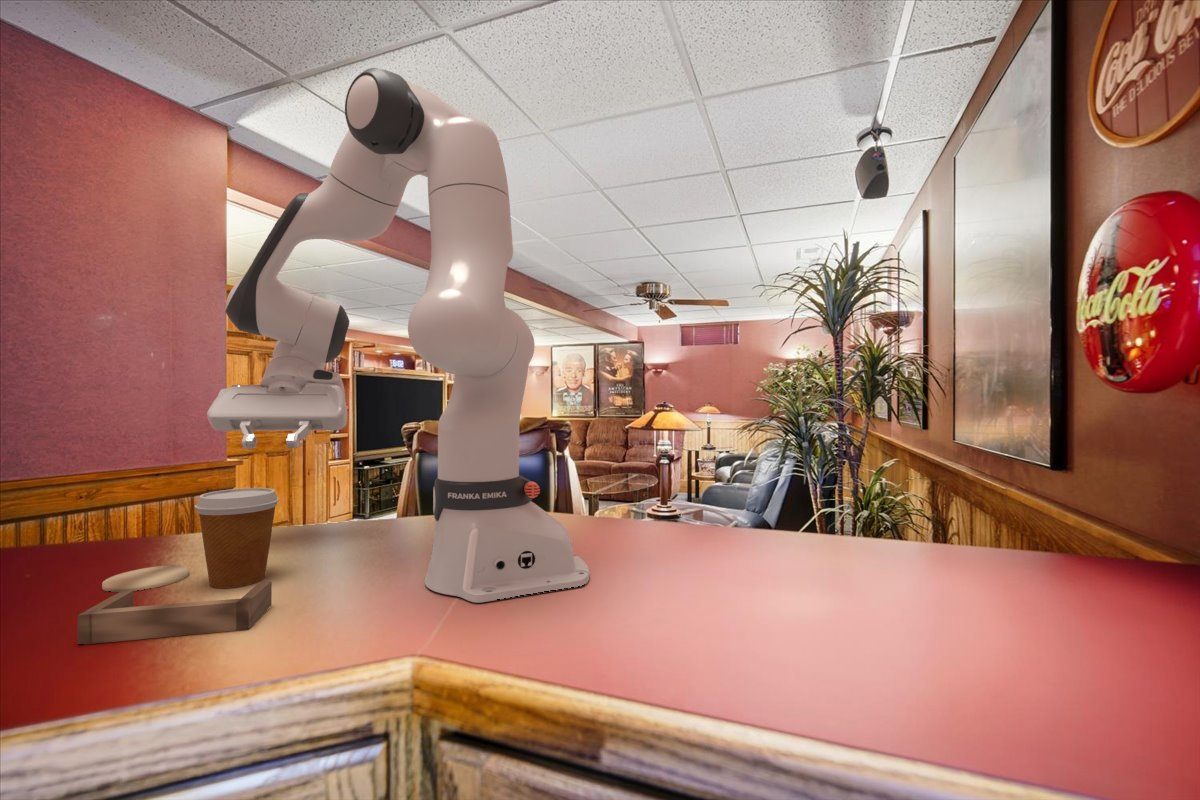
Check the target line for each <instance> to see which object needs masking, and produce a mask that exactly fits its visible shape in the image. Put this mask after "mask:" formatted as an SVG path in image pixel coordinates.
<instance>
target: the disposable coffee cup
mask: <svg viewBox="0 0 1200 800" xmlns="http://www.w3.org/2000/svg"><path fill="white" fill-rule="evenodd" d="M279 501H280V498H279V497H278V496H277V492H276V489H273V488H269V487H268V488H267V487H245V488H229V489H225V490H224V489H223V490H216V491H210V492H207V493H206V492H205V493H203V494H200V495H199V497H198V500H197V503H196V504H195V505H194V509H195V510H196V512H197V513H196V514H198V516H199V522H200V528H201V535H202V542H203V548H204V556H205V561H206V562H205V564H206V568H207V575H208V583H209V586H210V587H211V588H215V589H231V588H238V587H244V585H245V586H248V584H249V585H252V584H255V582H256V583H259V582H260V581H263V579H264V578H265V577H266V573H267V572H266V571H267V565H268V558H269V552H270V545H271V537H272V531H273V524H274V519H275V518H274V517H275V513H276V511H275V510H276V507H277V506H278V502H279Z"/></svg>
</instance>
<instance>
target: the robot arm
mask: <svg viewBox="0 0 1200 800" xmlns="http://www.w3.org/2000/svg"><path fill="white" fill-rule="evenodd" d="M344 116H345V120H346V124H347V127H348V131H347V133H346V134H345V136H344V138H343V139H342V141H341V143H340V145H339V147H338V148H337V151H336V153H335V155H334V158H333V159H332V162H331V165H330V167H329V171H328V173H327V175H326V178H324V179H325V180H323V182H322V184H321V185H319V186H318V187H317V188H316V189H315V190H313V191H311V192H310V193H309V192H307V193H306V192H299V193H298V194H297V195H296V196H294V197H293V198H292V199H291V201H289V203H288V205H286V207H285V209H284V210H283V211H282V214H281V215H280V217H279V218H278V219H277V220H276V223H274V225H273V227H272V229H271V231H270V232H269V234H268V235H267V238H266V239H265V241H264V242H263V244H262V245H261V247H260V248H259V251H258V252H257V254H256V255H255V257H254V258H253V261H252V263H251V264H250V266H249V268H248V269H247V271H246V272H245V273H244V274H243V275H242V276H241V277H240V279H238V281H237V282H236V283H235V284H234V285H233V287H232V288H231V289H230V292H229V293H228V295H227V298H226V302H225V314H226V316H227V317H228V319H229V320H230V321H231V323H232V324H233V325H234V327H235V328H236V329H238V331H239V332H244V333H248V334H253V335H256V336H260V337H262V336H263V337H267V338H270V339H272V340H275V341H276V344H275V346H274V347H273V350H272V359H271V360H270V361H269V362H268V364H267V366H266V368H265V371H264V373H263V375H262V378H261V381H260V383H259V384H247V385H246V384H245V385H243V384H232V385H231V386H228V387H226V388H222V389H220V391H219V393H218V395H217V396H216V398H215V399H214V400H213V402H212V403H211V405H210V406H209V408H208V410H207V412H206V418H207V421H208V422H209V424H210V426H211V427H212V428H213V429H214V430H215V431H217V432H241V433H242V435H243V437H242V440H241V445H242V448H243V450H249V449H251V450H252V449H256V445H257V444H258V439H257V437H256V435H255V434H254V431H255V432H257V431H258V432H260V431H261V432H262V431H264V432H265V431H269V432H270V431H275V432H276V431H279V432H281V431H295V432H294V433H288V435H287V438H286V440H285V441H286V446H287V448H288V449H298V448H299V447H300V444H301V442H302V441H303V440H304V439H306V438H307V437H308V436H309V435H310V434H311V432H312V431H341V430H342V429H344V428H345V427H346V426H347V422H348V407H347V406H348V405H347V401H346V391H345V386H344V382H343V379H342V377H341V375H340V374H339V373H337V372H334V371H329V370H325V367H326V364H327V363H331V362H332V361H333V360H335V359H336V358H339V355H341V352H342V350H343V348H344V345H345V342H346V336H347V332H348V330H349V326H350V318H349V316H348V314H347V311H346V310H345V308H344V307H343V306H342V305H341V304H339V303H337V302H334V301H332V300H329V299H326V298H324V297H322V296H320V295H316V294H314V295H313V294H312V293H309V292H306V291H303V290H301V289H299V288H295V287H293V286H290V285H287V284H286V283H283V282H281V281H280V280H279V279H278V275H279V273H280V272H281V270H282V269H283V267H284V266H285V263H286V262H287V260H288V259H289V257H290V256H291V254H292V252H293V251H294V249H295V247H296V246H298V245H299V244H301V243H302V242H304V241H305V242H306V241H309V240H310V241H311V240H332V241H333V240H334V241H342V242H362V241H363V242H364V241H369V240H373V239H375V238H377V237H379V236H381V235H383V233H386V232H387V230H388V228H389V227H390V225H391V224H392V221H393V219H394V218H395V216H396V213H397V211H398V209H399V207H400V204H401V202H402V199H403V196H404V193H405V190H406V188H407V185H408V184H409V181H411V179H412V178H414V177H415V176H423V177H426V178H427V197H428V213H429V226H430V227H429V228H430V245H431V247H430V248H431V249H430V250H431V252H430V253H431V254H430V266H429V272H428V275H427V276H428V277H427V281H426V285H425V289H424V293H423V295H422V296H421V297H420V298H419V299H418V300H417V301H416V302H415V304H414V305H413V307H412V309H411V312H410V314H409V317H408V324H407V333H408V338H409V341H410V344H411V347H412V348H413V350H414V351H415V353H416V354H417V355H418V356H419V357H420V358H421V359H422V360H424V361H426V362H427V363H428V364H430V365H432V366H433V367H435V368H436V369H438V370H440V371H441V372H444V373H445V374H446V373H447V374H450V375H454V380H453V384H452V388H451V391H450V395H449V399H448V402H447V405H446V407H445V409H444V411H443V412H442V413H441V415H440V417H439V420H438V423H437V476H436V477H435V480H434V485H433V490H432V491H433V495H432V498H433V500H432V501H433V502H432V504H433V506H432V510H433V511H432V512H433V516H434V520H435V529H434V536H433V544H432V548H431V556H430V560H429V564H428V567H427V572H426V575H425V578H424V581H423V582H424V585H425V586H426V587H427V589H429V590H431V591H433V592H436V593H439V594H443V595H447V596H453V597H454V596H455V597H459V598H462V599H464V600H466V601H468V602H472V603H476V604H478V603H485V602H493V601H498V600H497V599H500V600H505V599H504V598H506V599H511V598H510V597H512V598H515V597H514V596H518V597H521V596H520V595H524V596H526V595H525V594H531V595H534V594H533V593H537V594H539V593H538V592H543V593H545V592H544V591H549V592H551V591H550V590H556V589H562V590H565V589H564V588H568V589H572V588H571V587H574V588H578V586H580V587H583V586H582V585H584V584H585V585H586V584H588V582H589V581H590V569H589V566H588V565H587V563H586V562H585V560H583V559H582V558H581V557H580V556H578V555H576V554H574V549H573V543H572V540H571V537H570V534H569V531H567V529H566V528H565V526H564V525H563V524H562V523H561V522H559V521H558V520H557V519H556V518H555V517H553V515H551V514H549V513H548V512H547V511H546V510H544V509H543V508H542V507H540V506H539V505H538V504H536V503H535V502H533V499H535V498H537V497H538V495H540V491H541V489H540V486H539V484H538V483H537V482H535V481H532V480H530V479H528V478H526V477H525V476H522V475H520V425H521V424H520V423H521V415H522V414H521V413H522V406H523V401H524V395H525V392H526V390H525V389H526V384H527V380H528V370H529V364H530V363H531V361H532V359H533V357H534V354H535V348H536V347H535V345H536V344H535V339H534V336H533V333H532V331H531V329H530V328H529V326H528V324H527V323H526V321H525V319H523V318H522V316H521V315H520V314H519V313H517V312H516V311H514V310H512V309H510V308H508V307H507V306H506V302H505V286H506V278H507V272H508V266H509V264H510V262H512V259H513V256H514V248H513V247H514V246H513V233H512V231H513V230H512V219H511V207H510V206H511V205H510V203H511V202H510V195H509V193H510V192H509V187H508V186H509V185H508V184H509V183H508V179H507V172H506V167H505V161H504V159H503V153H502V150H501V147H500V146H501V145H500V143H499V140H498V137H497V135H496V133H495V132H494V131H493V128H491V127H490V126H489V125H488V124H487V123H485V121H484V122H483V120H480V119H478V118H475V117H473V116H465V115H463V114H462V113H460V112H459V110H456V109H455V108H454V107H452V106H451V105H450V104H448V103H446V102H445V101H444V100H442V98H440V97H439V96H438V95H436V94H434V93H432V92H430V91H429V90H426V89H425V88H423V87H421V86H419V85H417V84H414V83H412V82H410V81H407V80H405V79H404V78H403V77H402V76H401V75H400V74H397V73H395V72H392V71H389V70H386V69H383V68H378V67H370V68H366V69H365V70H363V71H362V72H361V73H360V74H358V75H357V76H356V77H355V78H354V79H353V80H352V82H351V84H350V86H349V88H348V90H347V93H346V97H345V102H344ZM585 585H584V586H585ZM556 591H557V590H556Z"/></svg>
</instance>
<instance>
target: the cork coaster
mask: <svg viewBox="0 0 1200 800" xmlns="http://www.w3.org/2000/svg"><path fill="white" fill-rule="evenodd" d="M189 575H190V568H189V566H188V567H187V566H184V565H176V564H175V565H172V564H171V565H159V566H150V567H144V568H143V567H142V568H139V569H134V570H129V571H125V572H121V573H118V574H115V575H113V576H110V577H108V578H106V579H105V580H103V581H102V585H101V589H102V590H103V591H105V592H108V591H111V592H110V593H119V592H121V591H133V592H136V591H137V590H139V591H142V590H143V591H145V590H151V589H155V588H160V587H163V586H167V585H171V584H174V583H178V582H180V581H182V580H184V579H186V578H187V577H188V576H189ZM150 588H151V589H150ZM144 589H145V590H144ZM137 592H138V591H137Z"/></svg>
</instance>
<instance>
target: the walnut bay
mask: <svg viewBox="0 0 1200 800" xmlns="http://www.w3.org/2000/svg"><path fill="white" fill-rule="evenodd" d="M272 582H273V581H272V580H260V581H258V582H257V584H256V585H255V586H253V587H252V588H251V589H250V590H249V591H248V592H247V593H245V594H244V595H243V596H241V598H233V599H232V598H231V599H219V600H204V601H193V602H191V601H190V602H181V603H180V602H179V603H167V604H166V603H165V604H155V605H154V604H152V605H142V606H141V605H140V606H139V605H138V606H134V591H121V592H116V594H114V595H112V596H109V597H108V598H106V599H104V600H102V601H101V602H99V603H97V604H95V605H94V606H92V607H90V608H88V609H86V610H85V611H82V612H81V613H79V614H78V615H77V644H84V645H93V644H103V643H115V642H125V641H128V642H129V641H136V640H146V639H147V640H148V639H158V638H169V637H181V636H182V637H183V636H191V635H201V634H202V635H203V634H213V633H222V632H223V633H224V632H235V631H244V630H246V631H247V630H250V629H251V628H252V627H253V626H254V625H255V623H257V621H258V620H260V618H261V617H262V616H263V615H264V614H265V613H266V612H267V611H268V610H269V609H270V608H271V607H272V606H271V605H272V601H273V600H272V597H273V596H272V592H273V591H272V590H273V589H272V584H273V583H272ZM270 606H271V607H270ZM269 607H270V608H269ZM268 608H269V609H268ZM267 609H268V610H267Z"/></svg>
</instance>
